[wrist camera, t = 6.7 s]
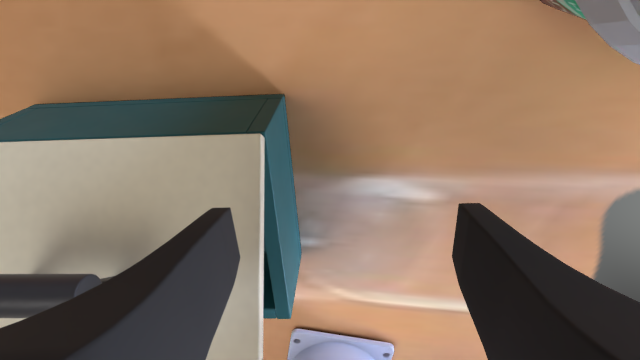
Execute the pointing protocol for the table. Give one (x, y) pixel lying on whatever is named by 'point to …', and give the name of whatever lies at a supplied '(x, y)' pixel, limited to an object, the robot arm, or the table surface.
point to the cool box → (192, 121)
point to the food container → (609, 21)
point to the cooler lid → (127, 219)
